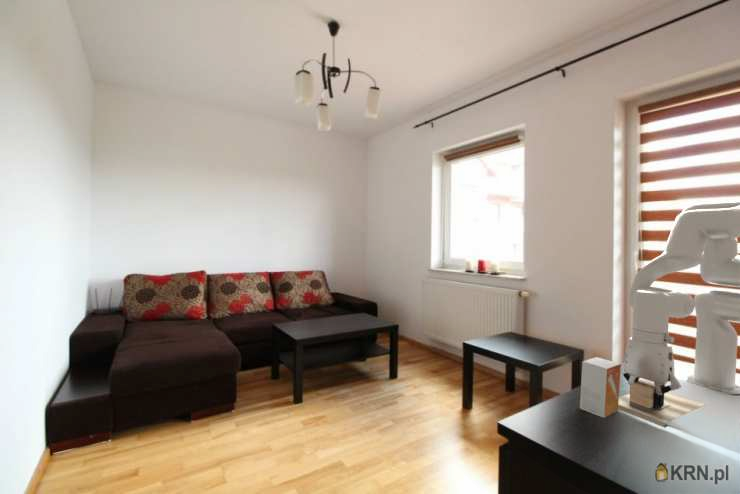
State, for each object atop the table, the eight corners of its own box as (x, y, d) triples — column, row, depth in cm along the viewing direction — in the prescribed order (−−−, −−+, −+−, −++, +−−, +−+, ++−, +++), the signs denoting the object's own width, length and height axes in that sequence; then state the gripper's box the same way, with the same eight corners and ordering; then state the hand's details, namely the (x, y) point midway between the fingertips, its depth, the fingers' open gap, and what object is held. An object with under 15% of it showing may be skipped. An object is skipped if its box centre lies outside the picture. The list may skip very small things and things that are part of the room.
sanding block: (642, 400, 100) (643, 379, 100) (661, 407, 96) (663, 385, 96) (629, 405, 96) (630, 383, 96) (648, 412, 92) (650, 389, 92)
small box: (604, 419, 91) (607, 368, 91) (579, 408, 97) (581, 361, 96) (619, 411, 96) (621, 363, 95) (593, 401, 101) (595, 356, 101)
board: (649, 390, 110) (649, 386, 110) (704, 408, 99) (704, 404, 99) (608, 405, 99) (608, 400, 99) (664, 427, 88) (664, 422, 88)
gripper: (695, 343, 90) (691, 414, 90) (622, 327, 105) (619, 389, 105) (682, 347, 86) (678, 421, 87) (608, 330, 101) (605, 393, 102)
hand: (645, 403), depth 96 cm, fingers closed on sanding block, 4 cm apart
